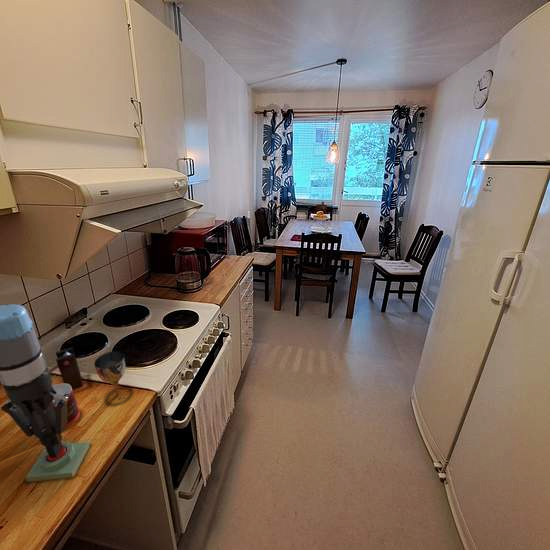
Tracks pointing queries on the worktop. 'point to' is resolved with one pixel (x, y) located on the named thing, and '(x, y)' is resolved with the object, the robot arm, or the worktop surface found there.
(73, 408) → the canned food
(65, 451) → the button
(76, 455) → the button box
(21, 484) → the worktop surface
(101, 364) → the wine glass
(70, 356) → the dark brown boxy piece
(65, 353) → the lever
